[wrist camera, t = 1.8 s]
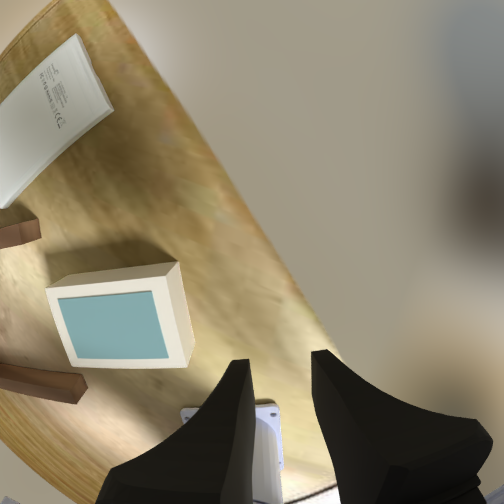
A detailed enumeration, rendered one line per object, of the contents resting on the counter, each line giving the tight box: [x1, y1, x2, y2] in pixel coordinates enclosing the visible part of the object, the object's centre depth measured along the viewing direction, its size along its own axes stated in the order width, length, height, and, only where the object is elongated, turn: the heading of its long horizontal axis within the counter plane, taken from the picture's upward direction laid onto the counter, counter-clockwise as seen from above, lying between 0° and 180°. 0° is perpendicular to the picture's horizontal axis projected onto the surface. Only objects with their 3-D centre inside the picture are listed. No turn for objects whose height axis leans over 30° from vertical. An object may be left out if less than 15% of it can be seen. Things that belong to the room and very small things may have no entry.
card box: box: [45, 261, 195, 369], centre depth 19 cm, size 6×9×4 cm, turn 97°
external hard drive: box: [0, 34, 114, 209], centre depth 17 cm, size 2×8×12 cm
